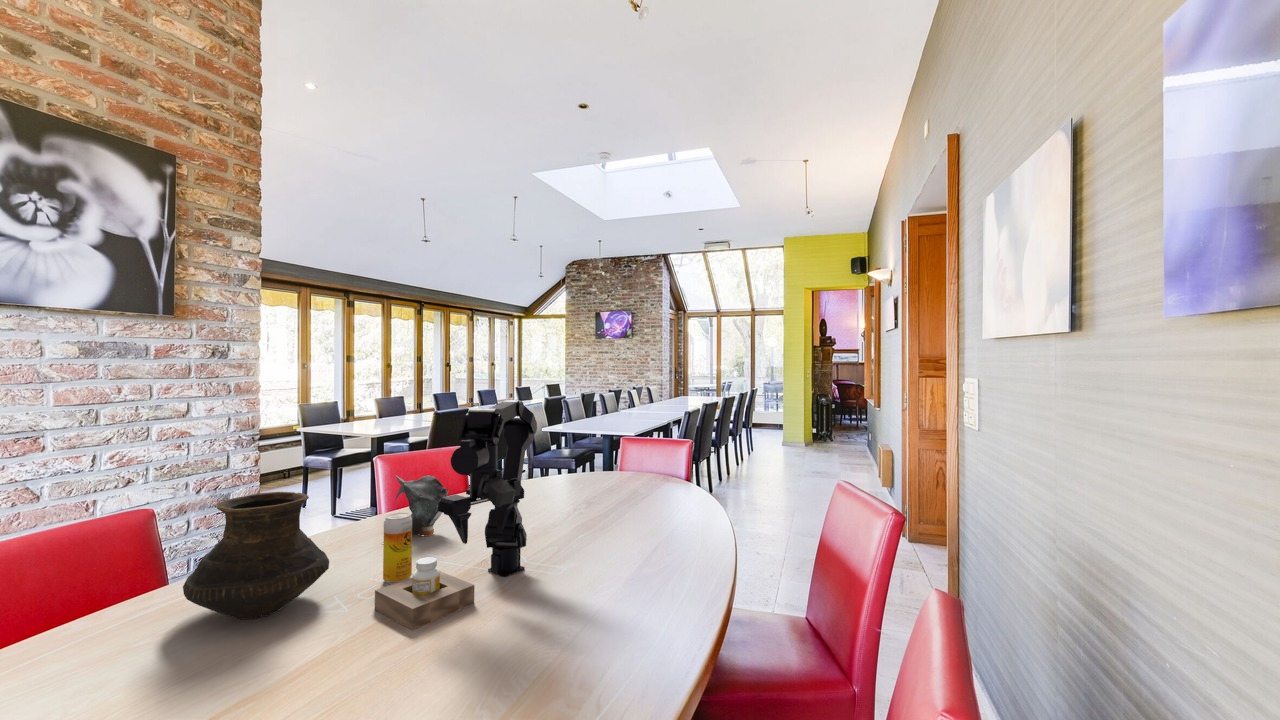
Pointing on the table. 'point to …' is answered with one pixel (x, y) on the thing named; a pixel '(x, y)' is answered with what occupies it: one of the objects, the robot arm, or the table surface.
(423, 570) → the supplement bottle
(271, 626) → the table surface
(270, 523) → the ceramic pot
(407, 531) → the beer can
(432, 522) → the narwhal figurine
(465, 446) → the robot arm
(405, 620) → the socket block
